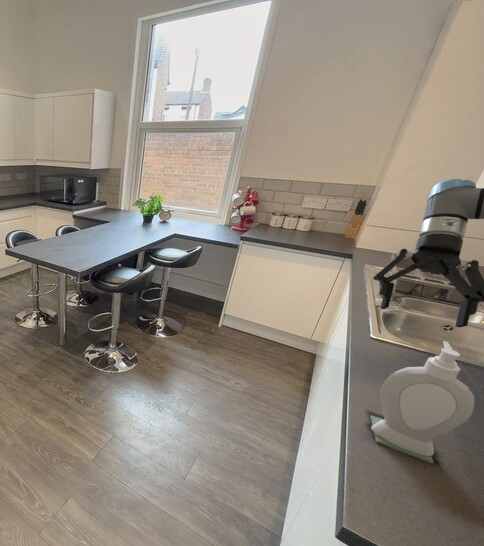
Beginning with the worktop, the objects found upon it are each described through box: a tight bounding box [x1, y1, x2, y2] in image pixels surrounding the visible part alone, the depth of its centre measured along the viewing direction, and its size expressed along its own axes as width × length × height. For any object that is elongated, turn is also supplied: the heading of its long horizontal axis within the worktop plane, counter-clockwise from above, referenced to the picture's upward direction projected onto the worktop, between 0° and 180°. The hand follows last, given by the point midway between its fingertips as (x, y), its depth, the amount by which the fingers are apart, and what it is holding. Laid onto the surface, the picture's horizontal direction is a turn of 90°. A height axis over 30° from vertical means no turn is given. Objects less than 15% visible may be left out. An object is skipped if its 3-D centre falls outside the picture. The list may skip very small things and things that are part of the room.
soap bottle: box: [370, 340, 475, 457], centre depth 66 cm, size 13×8×24 cm, turn 49°
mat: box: [369, 415, 435, 465], centre depth 71 cm, size 9×9×1 cm
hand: (420, 316), depth 76 cm, fingers open, 13 cm apart
